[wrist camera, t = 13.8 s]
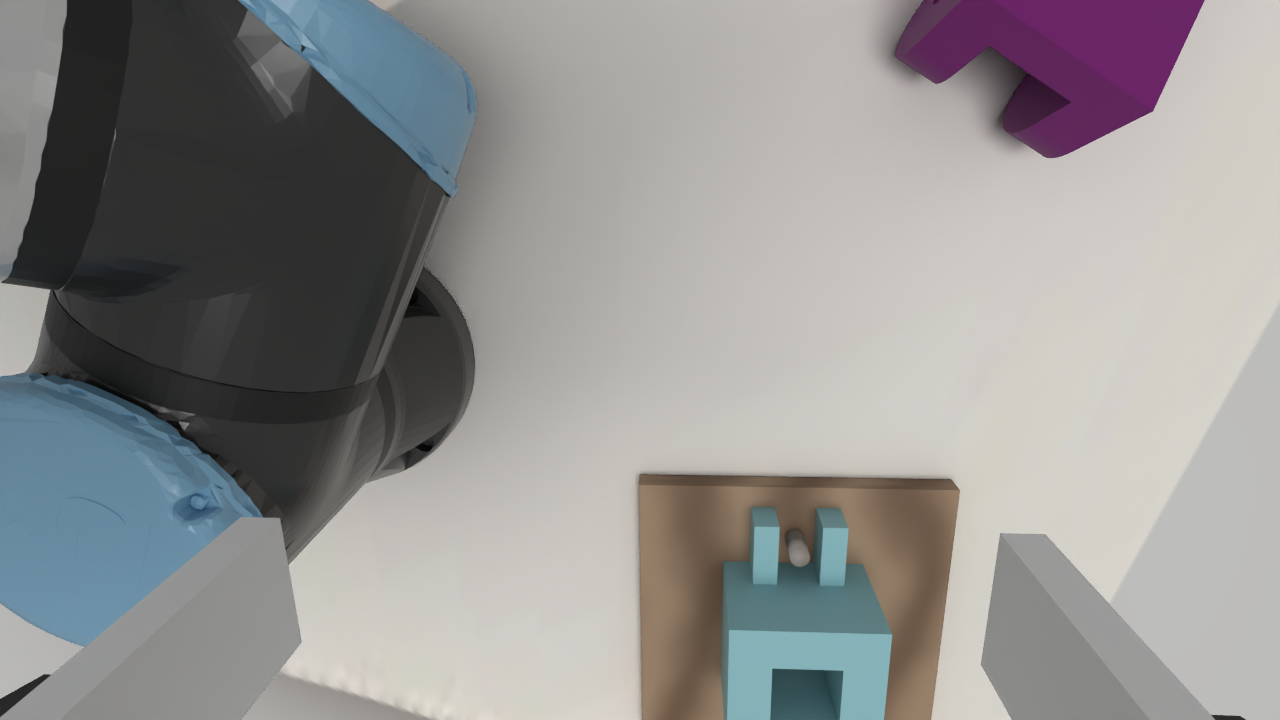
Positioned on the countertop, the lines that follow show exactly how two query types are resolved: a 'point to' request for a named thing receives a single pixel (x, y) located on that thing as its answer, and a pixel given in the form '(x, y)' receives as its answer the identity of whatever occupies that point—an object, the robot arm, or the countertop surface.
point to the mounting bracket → (1058, 59)
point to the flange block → (802, 630)
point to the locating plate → (720, 531)
